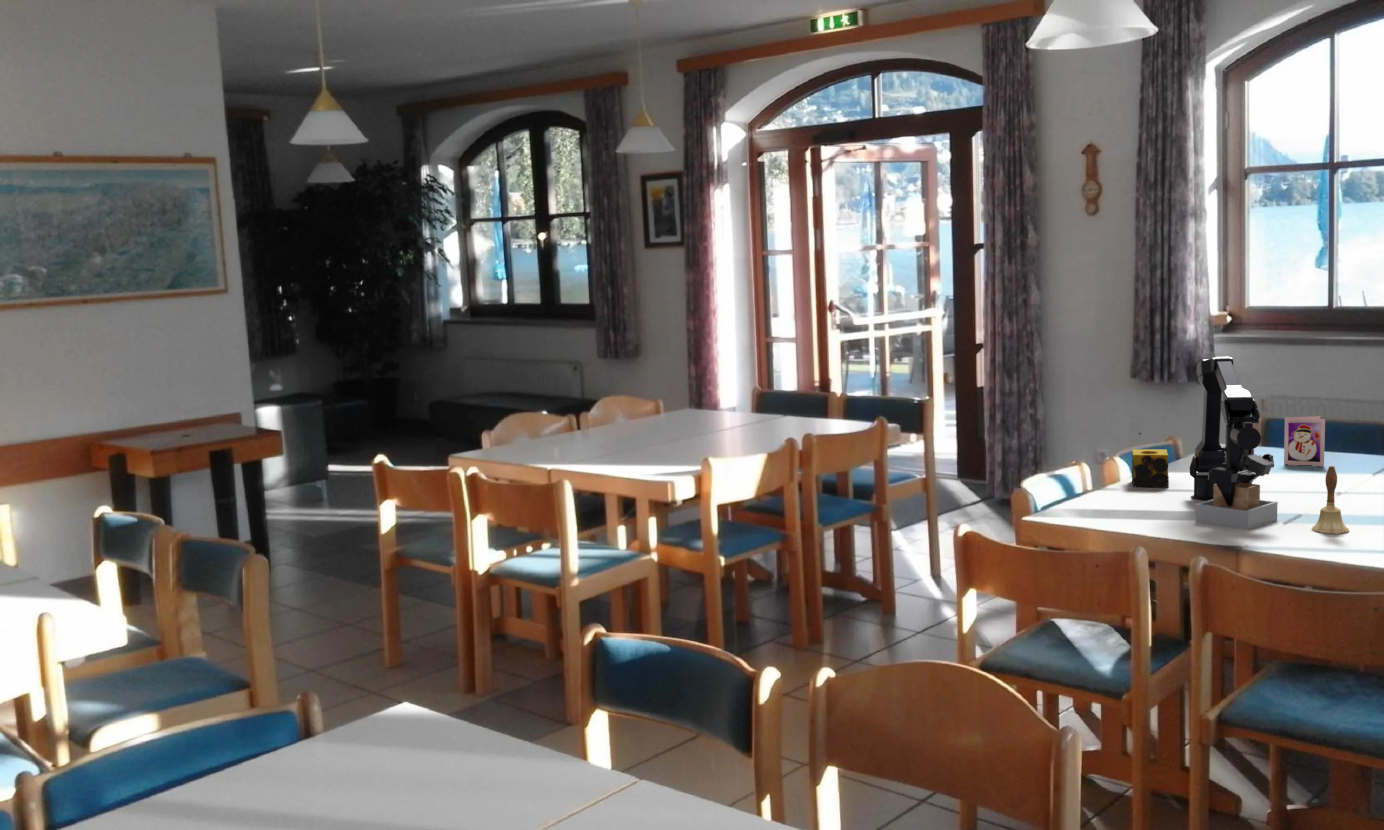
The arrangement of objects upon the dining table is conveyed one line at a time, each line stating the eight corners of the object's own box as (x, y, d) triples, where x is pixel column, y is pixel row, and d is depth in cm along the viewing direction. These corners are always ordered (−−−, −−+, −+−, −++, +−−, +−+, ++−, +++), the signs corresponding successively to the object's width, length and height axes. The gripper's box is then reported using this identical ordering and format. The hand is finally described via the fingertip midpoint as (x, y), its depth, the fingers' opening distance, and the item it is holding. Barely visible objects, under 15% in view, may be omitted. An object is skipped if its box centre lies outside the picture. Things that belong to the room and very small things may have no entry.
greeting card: (1283, 465, 409) (1284, 418, 407) (1286, 461, 415) (1287, 414, 413) (1323, 467, 403) (1324, 419, 401) (1326, 463, 409) (1327, 416, 407)
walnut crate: (1213, 507, 336) (1213, 484, 335) (1226, 503, 340) (1226, 480, 339) (1246, 511, 329) (1247, 488, 328) (1259, 507, 333) (1260, 484, 332)
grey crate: (1195, 523, 335) (1195, 504, 335) (1225, 513, 345) (1225, 495, 344) (1248, 530, 325) (1248, 511, 324) (1277, 521, 334) (1277, 502, 333)
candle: (1167, 482, 390) (1167, 449, 389) (1169, 488, 380) (1169, 454, 379) (1131, 481, 393) (1131, 448, 391) (1132, 487, 383) (1133, 454, 382)
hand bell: (1304, 527, 324) (1306, 464, 322) (1336, 526, 325) (1338, 463, 323) (1323, 535, 316) (1325, 470, 314) (1356, 533, 317) (1358, 468, 315)
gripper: (1249, 451, 320) (1248, 513, 322) (1286, 442, 332) (1284, 502, 334) (1207, 447, 329) (1206, 507, 331) (1244, 438, 340) (1243, 496, 342)
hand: (1236, 503), depth 334 cm, fingers closed on walnut crate, 6 cm apart
